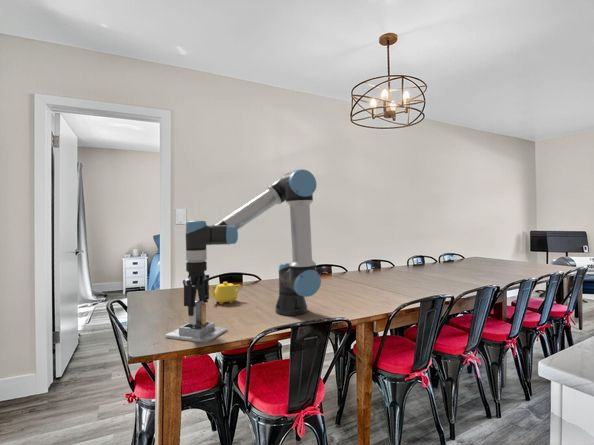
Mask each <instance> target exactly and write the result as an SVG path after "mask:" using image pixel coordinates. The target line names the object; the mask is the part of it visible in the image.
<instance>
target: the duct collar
mask: <svg viewBox="0 0 594 445" xmlns="http://www.w3.org/2000/svg"><path fill="white" fill-rule="evenodd" d="M227 331H228V327H222V326H216V322H215V321H207V320H206V325H205V326H204V327H202V328H200V329H197V328H190V324H189V322H187V323H185V324H183V325H181V326H179V327H178V328H177V329H174V330H173V331H170V332H167V333H166V334H165V335H164V338H167V339H172V340H179V341H180V340H182V341H189V342H197V343H205V344H208V343H210V341H213V340H214V339H216V338H217V337H219V336H220V335H223V334H224V333H226V332H227Z"/></svg>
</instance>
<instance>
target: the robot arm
mask: <svg viewBox="0 0 594 445" xmlns="http://www.w3.org/2000/svg"><path fill="white" fill-rule="evenodd" d="M316 190H317V179H316V177H315V175H314V174H313V173H311V171H309V170H307V169H295V170H293V171H291V172H287V173H285V174H283V175H282V176H281V177H279V178H278V179H277V180H276V181H275V182H273V183H272V184H271V185H269V186H267V190H266V191H264V192H261V194H259V195H257V196H256V197H255V198H252V200H250V201H249V202H247V203H245V204H244V205H243V206H241V207H239V208H238V209H236V210H234V211H233V212H232V213H231V214H229V215H227V216H226V217H224V218H223V219H222V220H220V221H218V222H217V223H214V224H212V225H207V222H206V221H205V220H189V221H186V223H185V250H186V251H185V254H186V255H185V260H186V262H185V268H186V269H185V271H186V272H187V274H188V276H187V278H186V279H183V280H182V284H183V306H184V307H187V312H188V313H187V315H188V323H189V324H194V325H195V324H196V307H194V305H195V300H196V296H197V294H198V300H204V304H206V303H208V302H209V299H210V292H209V291H210V287H209V285H210V284H209V280H210V275H209V274H206V273H205V272H206V271H207V269H208V264H207V261H206V260H207V259H208V257H207V256H208V254H207V252H208V251H207V246H213V245H216V246H218V245H236V244H237V242H238V240H239V239H238V238H239V230H240V229H241V228H242V227H244V226H246V225H248V224H249V223H250V222H252V221H254V220H255V219H256V218H258V217H259V216H261V215H262V214H264V213H265V212H267V211H268V210H269V209H271V208H272V207H274V206H275V205H281V204H283V202H284V203H285V202H286V204H287V205H288V207H289V213H290V235H291V237H290V238H291V253H292V254H291V256H292V261H291V262H283V263H280V264H279V265H278V298H277V301H276V304H275V313H276V314H279V315H283V316H300V315H303V314H306V313H307V312H308V304H307V301H306V299H305V298H307V297H308V298H309V297H312V296H314V295H315V294H316V293H317V292H318V291H319V290H320V288H321V284H322V278H321V276H320V274H319V272H317V265H316V264H317V263H316V262H315V261H314V260H313V252H312V250H313V249H312V232H311V231H312V229H311V228H312V227H311V210H310V209H311V206H310V205H311V204H312V203H313V202H314V193H315V191H316ZM191 303H192V304H191Z"/></svg>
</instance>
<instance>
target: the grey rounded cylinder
mask: <svg viewBox="0 0 594 445" xmlns="http://www.w3.org/2000/svg"><path fill="white" fill-rule="evenodd" d="M191 304H192V303H191ZM194 307H196V324H195V325H194V324H190V328H197V329H200V328H202V327H204V326H205V325H206V321H207V309H206V308H207V305H206V303H205V304H204V300H199V299H195V305H194Z"/></svg>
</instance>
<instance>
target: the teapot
mask: <svg viewBox="0 0 594 445" xmlns="http://www.w3.org/2000/svg"><path fill="white" fill-rule="evenodd" d="M236 287H237V289H236ZM241 288H242V285H241V284H233V283H231V282H230V283H228V281H223V282H222V283H218V284H216V287H215V290H214V287H213V285H212V284H209V291H210V295H211V296H212V297H213V298H214V300H215V302H217V303H218V304H219V305H223V304H224V303H229V304H234V302H235V301H237V298H238V295H237V294H238V293H239V292H240V290H241Z"/></svg>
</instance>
